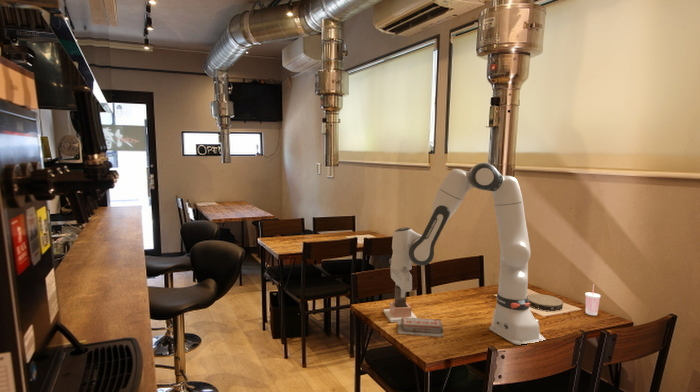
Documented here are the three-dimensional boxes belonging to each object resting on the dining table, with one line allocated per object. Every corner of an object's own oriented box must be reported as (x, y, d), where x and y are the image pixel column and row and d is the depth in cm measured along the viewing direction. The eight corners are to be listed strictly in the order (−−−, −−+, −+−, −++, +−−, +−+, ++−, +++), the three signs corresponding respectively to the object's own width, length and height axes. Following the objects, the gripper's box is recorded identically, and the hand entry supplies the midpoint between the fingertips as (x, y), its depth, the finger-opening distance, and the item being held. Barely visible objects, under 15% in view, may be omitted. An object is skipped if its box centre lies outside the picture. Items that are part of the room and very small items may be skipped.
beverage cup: (584, 314, 188) (586, 284, 186) (583, 310, 193) (585, 281, 192) (599, 317, 185) (602, 286, 184) (598, 312, 190) (601, 283, 189)
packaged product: (441, 316, 171) (443, 326, 161) (441, 328, 171) (443, 338, 162) (398, 313, 174) (397, 323, 164) (398, 324, 174) (397, 335, 164)
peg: (405, 308, 180) (406, 288, 179) (396, 309, 179) (397, 289, 178) (402, 305, 184) (403, 285, 183) (394, 305, 183) (395, 286, 182)
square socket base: (417, 320, 177) (418, 309, 177) (390, 322, 175) (391, 310, 175) (408, 310, 189) (409, 299, 188) (383, 311, 187) (383, 300, 186)
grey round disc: (562, 303, 203) (562, 297, 202) (562, 314, 189) (563, 307, 188) (527, 297, 210) (527, 292, 209) (525, 308, 196) (525, 301, 195)
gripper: (416, 270, 170) (415, 303, 171) (401, 258, 190) (400, 287, 192) (401, 271, 169) (400, 303, 170) (388, 258, 189) (387, 287, 190)
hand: (400, 294), depth 181 cm, fingers closed on peg, 4 cm apart
